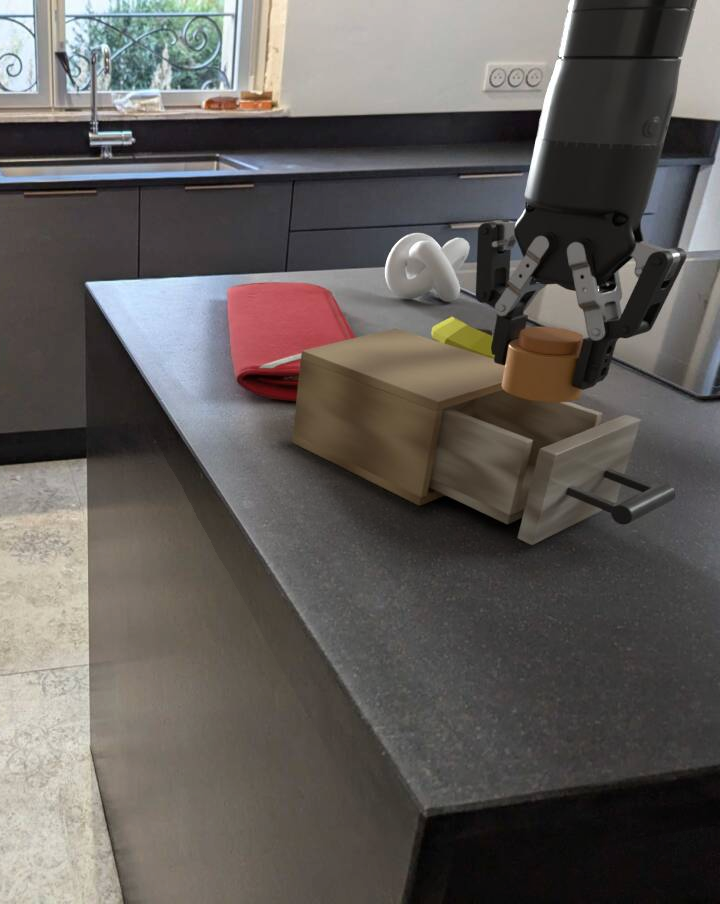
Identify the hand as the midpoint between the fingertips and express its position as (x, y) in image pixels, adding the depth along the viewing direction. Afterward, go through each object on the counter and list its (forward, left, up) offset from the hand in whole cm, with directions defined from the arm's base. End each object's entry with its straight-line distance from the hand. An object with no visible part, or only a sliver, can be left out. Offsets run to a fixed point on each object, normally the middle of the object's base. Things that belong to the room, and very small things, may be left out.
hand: (543, 373), depth 62 cm
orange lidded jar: (0, 0, -1) cm, 1 cm away
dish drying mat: (-14, -41, -12) cm, 45 cm away
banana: (-31, -22, -12) cm, 40 cm away
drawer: (0, +1, -11) cm, 11 cm away
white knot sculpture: (-49, -46, -12) cm, 68 cm away
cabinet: (0, -11, -11) cm, 16 cm away
